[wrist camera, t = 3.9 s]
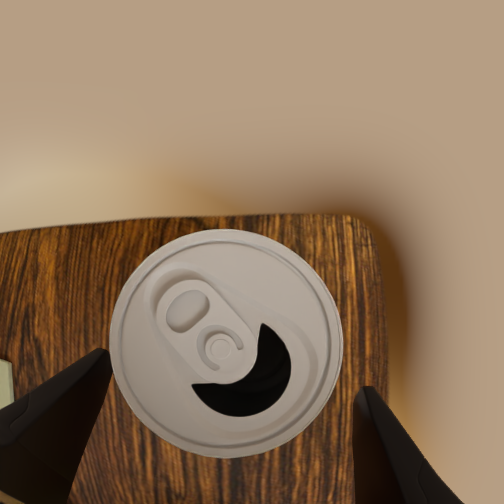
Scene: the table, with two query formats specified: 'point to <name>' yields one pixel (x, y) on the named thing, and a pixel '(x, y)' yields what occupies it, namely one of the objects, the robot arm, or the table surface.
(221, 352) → the beverage can
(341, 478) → the table surface
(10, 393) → the mat
